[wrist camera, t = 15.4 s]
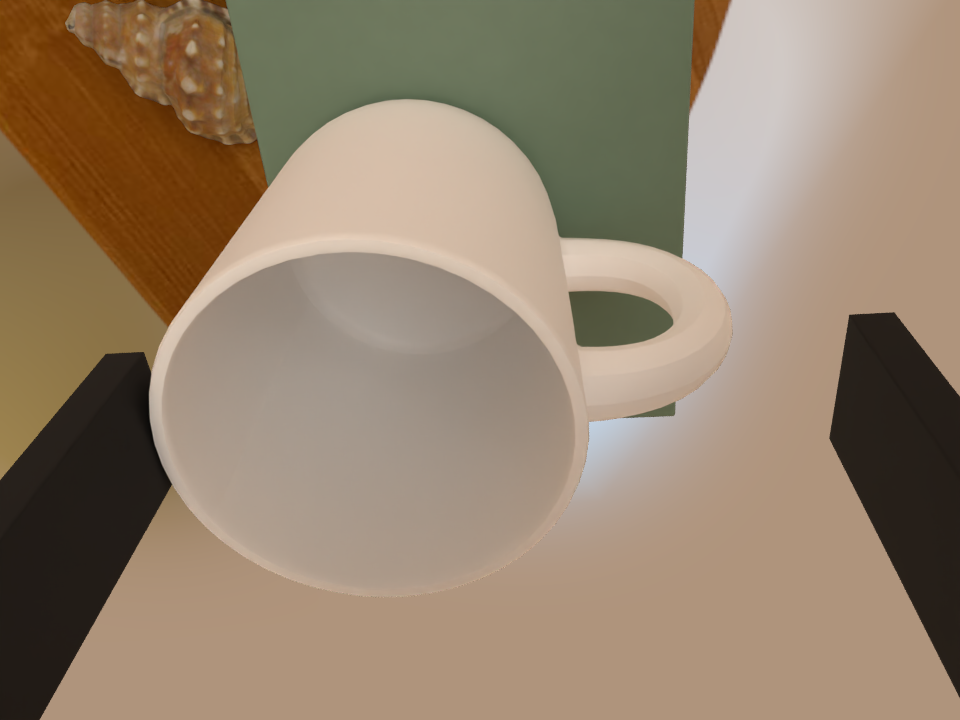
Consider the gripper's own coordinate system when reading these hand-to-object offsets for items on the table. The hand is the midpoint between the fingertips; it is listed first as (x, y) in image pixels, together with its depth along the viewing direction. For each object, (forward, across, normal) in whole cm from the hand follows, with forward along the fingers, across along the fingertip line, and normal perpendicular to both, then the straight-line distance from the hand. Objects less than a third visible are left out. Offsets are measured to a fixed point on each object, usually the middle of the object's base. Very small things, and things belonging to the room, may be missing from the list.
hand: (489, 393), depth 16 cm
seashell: (+40, -20, -1) cm, 45 cm away
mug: (+10, -1, -1) cm, 10 cm away
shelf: (+40, -1, -1) cm, 40 cm away
